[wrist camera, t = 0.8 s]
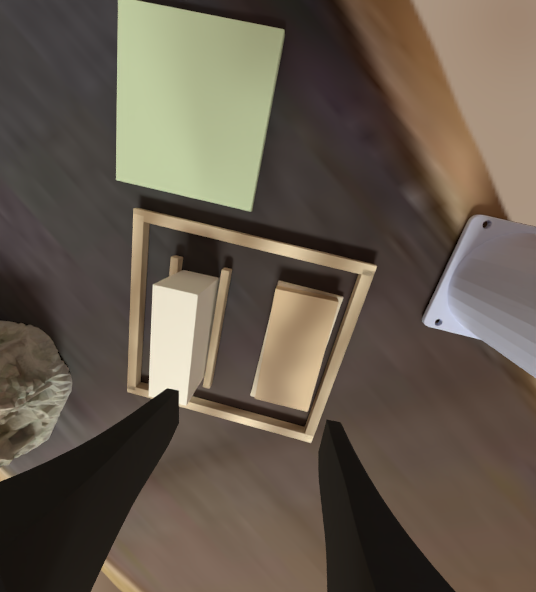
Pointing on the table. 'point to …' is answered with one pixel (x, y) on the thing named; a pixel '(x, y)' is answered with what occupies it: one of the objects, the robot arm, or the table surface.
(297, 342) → the offcut upper
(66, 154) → the table surface
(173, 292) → the tall cream block
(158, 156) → the mat
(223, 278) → the rack
